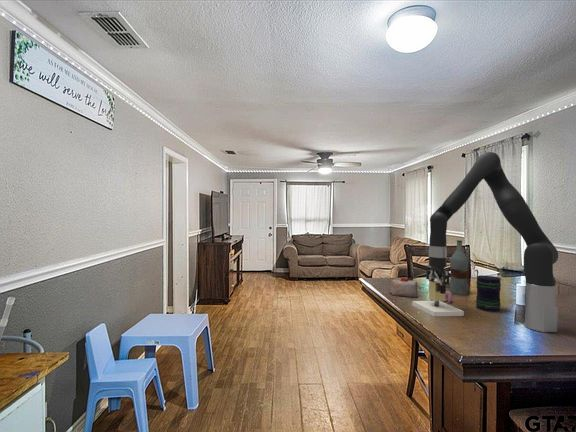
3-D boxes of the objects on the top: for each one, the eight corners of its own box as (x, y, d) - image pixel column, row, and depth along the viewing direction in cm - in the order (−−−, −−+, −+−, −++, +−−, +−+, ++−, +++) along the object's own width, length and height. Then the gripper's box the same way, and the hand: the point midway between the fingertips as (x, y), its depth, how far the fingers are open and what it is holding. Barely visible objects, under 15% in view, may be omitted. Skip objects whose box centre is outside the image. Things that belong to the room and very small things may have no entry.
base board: (463, 315, 144) (463, 311, 144) (433, 316, 142) (433, 311, 142) (439, 304, 162) (439, 300, 162) (412, 305, 160) (412, 301, 160)
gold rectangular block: (445, 300, 150) (445, 283, 150) (434, 300, 149) (435, 283, 149) (438, 298, 155) (438, 280, 155) (428, 298, 154) (429, 280, 154)
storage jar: (504, 312, 150) (504, 279, 150) (480, 311, 152) (481, 278, 152) (495, 307, 159) (495, 276, 159) (472, 305, 161) (473, 274, 161)
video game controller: (452, 305, 167) (454, 292, 169) (449, 303, 164) (452, 289, 166) (432, 302, 173) (434, 289, 176) (429, 299, 170) (431, 286, 173)
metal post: (440, 306, 151) (440, 291, 151) (436, 306, 151) (436, 291, 151) (437, 305, 153) (437, 290, 153) (433, 305, 153) (433, 290, 153)
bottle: (450, 294, 184) (451, 240, 184) (447, 291, 193) (448, 239, 193) (469, 296, 181) (470, 241, 181) (465, 292, 190) (466, 240, 190)
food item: (390, 296, 178) (390, 277, 178) (391, 292, 186) (391, 275, 186) (417, 298, 174) (418, 279, 174) (417, 295, 181) (417, 277, 182)
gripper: (455, 258, 145) (454, 295, 145) (436, 254, 159) (435, 288, 159) (439, 258, 144) (438, 295, 144) (421, 254, 158) (420, 288, 158)
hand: (437, 291), depth 152 cm, fingers open, 8 cm apart
